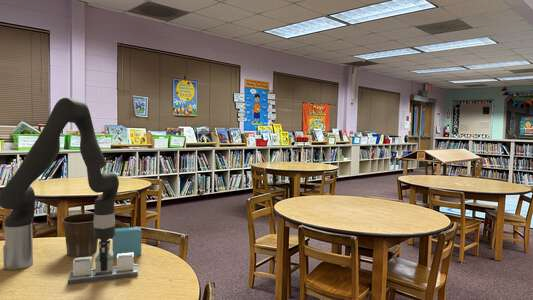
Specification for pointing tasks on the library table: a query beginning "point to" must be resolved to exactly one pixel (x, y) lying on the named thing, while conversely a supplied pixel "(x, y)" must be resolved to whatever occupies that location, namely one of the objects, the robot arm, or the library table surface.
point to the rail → (87, 274)
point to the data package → (127, 241)
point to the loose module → (109, 262)
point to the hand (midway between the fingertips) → (104, 267)
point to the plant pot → (80, 235)
